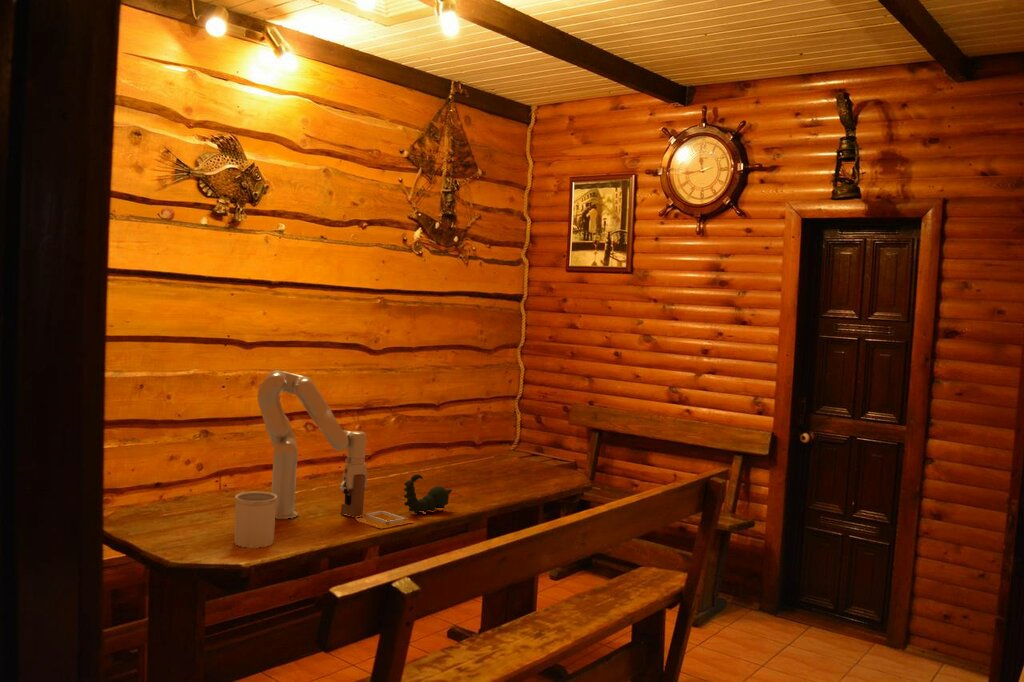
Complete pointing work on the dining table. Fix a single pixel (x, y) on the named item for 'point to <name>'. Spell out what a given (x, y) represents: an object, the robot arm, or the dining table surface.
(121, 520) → the dining table surface
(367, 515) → the dock tray
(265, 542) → the utensil holder
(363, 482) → the wooden block
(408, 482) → the toy figurine
